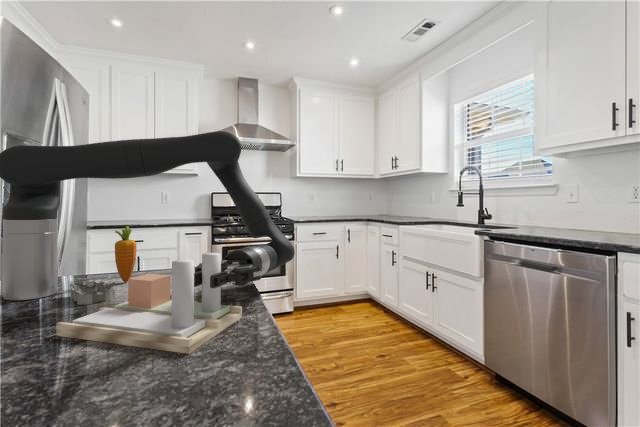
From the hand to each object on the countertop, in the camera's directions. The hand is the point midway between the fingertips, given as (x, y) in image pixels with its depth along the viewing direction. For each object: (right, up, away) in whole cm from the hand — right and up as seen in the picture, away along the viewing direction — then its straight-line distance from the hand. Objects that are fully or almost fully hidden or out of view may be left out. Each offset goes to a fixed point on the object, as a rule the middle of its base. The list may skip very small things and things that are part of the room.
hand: (202, 281), depth 56 cm
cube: (-12, -5, +6) cm, 14 cm away
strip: (-9, -7, -3) cm, 12 cm away
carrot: (-32, -7, +31) cm, 45 cm away
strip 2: (-7, -6, +5) cm, 11 cm away
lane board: (-8, -8, +1) cm, 11 cm away
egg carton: (-31, -8, +17) cm, 36 cm away
